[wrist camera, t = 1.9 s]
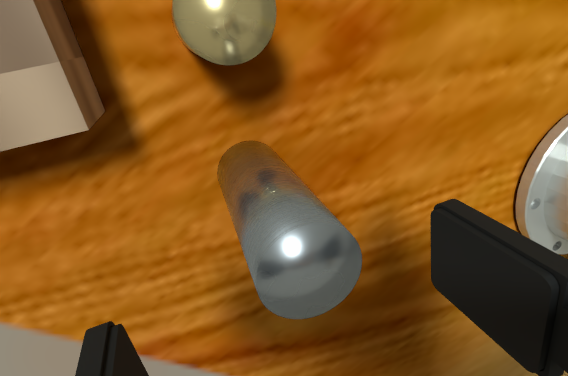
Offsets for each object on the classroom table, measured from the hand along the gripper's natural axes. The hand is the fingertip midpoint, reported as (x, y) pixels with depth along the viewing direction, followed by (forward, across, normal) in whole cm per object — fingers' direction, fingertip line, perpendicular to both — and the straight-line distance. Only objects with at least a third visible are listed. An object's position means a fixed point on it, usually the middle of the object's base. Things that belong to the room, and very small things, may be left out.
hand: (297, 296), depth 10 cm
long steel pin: (+11, -1, 0) cm, 11 cm away
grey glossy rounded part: (+11, -1, -8) cm, 13 cm away
